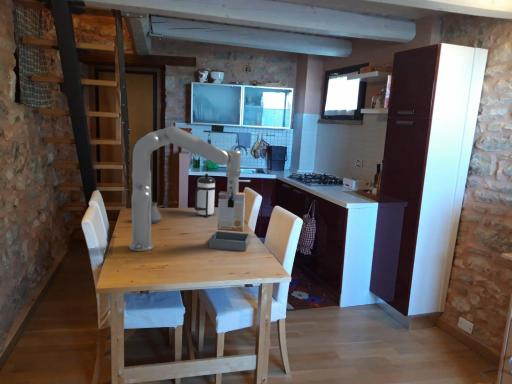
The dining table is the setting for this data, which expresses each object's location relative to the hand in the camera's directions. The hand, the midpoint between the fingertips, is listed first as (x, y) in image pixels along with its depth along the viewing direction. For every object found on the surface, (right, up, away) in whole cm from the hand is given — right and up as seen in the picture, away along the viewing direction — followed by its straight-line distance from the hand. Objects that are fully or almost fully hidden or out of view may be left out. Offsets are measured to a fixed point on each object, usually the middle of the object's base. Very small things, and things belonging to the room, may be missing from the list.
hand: (231, 205), depth 218 cm
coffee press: (-23, -10, +66) cm, 70 cm away
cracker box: (-1, -14, +3) cm, 14 cm away
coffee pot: (-49, -13, +42) cm, 66 cm away
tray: (-1, -22, +4) cm, 22 cm away
